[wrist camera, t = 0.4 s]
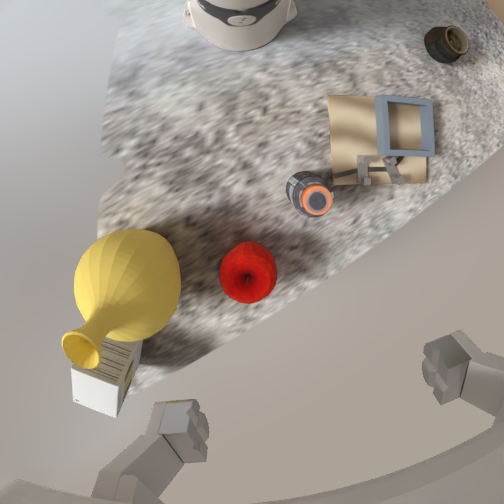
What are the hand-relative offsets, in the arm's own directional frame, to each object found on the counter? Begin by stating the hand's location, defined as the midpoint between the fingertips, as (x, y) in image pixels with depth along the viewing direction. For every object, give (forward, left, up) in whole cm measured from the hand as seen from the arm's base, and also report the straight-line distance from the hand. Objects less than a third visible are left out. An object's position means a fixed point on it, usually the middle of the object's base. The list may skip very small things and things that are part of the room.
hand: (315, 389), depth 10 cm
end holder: (-10, +25, -44) cm, 52 cm away
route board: (-8, +21, -44) cm, 49 cm away
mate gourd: (-27, +35, -44) cm, 63 cm away
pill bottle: (0, +7, -44) cm, 45 cm away
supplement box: (+28, -31, -44) cm, 61 cm away
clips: (-3, +20, -43) cm, 48 cm away
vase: (+10, -21, -44) cm, 50 cm away
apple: (+11, -3, -44) cm, 46 cm away
